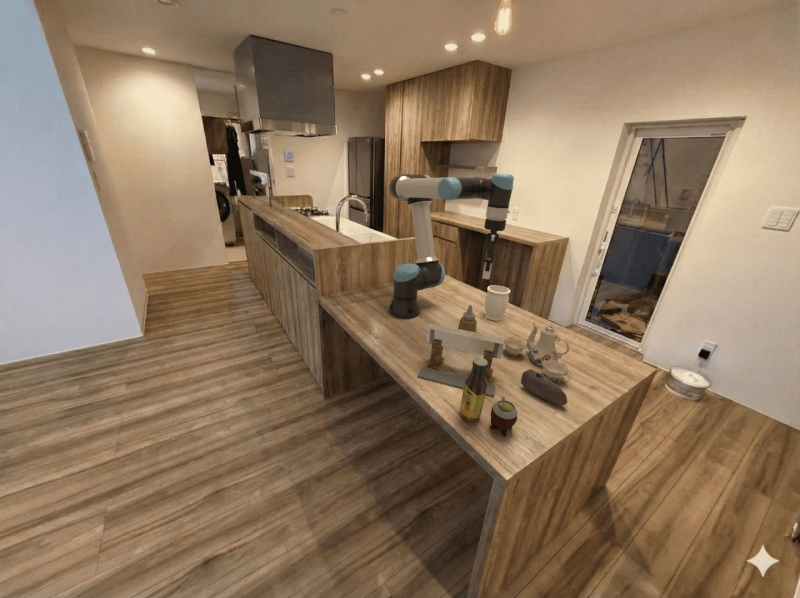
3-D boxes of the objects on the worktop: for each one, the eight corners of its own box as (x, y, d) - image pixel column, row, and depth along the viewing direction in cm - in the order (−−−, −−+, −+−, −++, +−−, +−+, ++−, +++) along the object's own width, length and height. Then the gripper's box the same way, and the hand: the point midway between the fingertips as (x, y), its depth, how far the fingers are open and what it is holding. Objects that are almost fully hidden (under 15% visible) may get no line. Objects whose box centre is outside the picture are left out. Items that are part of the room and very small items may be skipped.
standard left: (426, 366, 117) (429, 341, 113) (431, 356, 123) (434, 332, 119) (440, 369, 116) (443, 344, 112) (444, 359, 122) (447, 335, 118)
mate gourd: (508, 418, 95) (518, 377, 89) (518, 440, 88) (529, 397, 82) (483, 418, 95) (492, 377, 89) (491, 440, 88) (501, 397, 82)
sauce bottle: (457, 407, 99) (465, 353, 91) (476, 407, 99) (486, 353, 91) (462, 424, 93) (472, 367, 85) (483, 423, 93) (495, 366, 85)
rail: (425, 342, 115) (427, 328, 113) (428, 337, 119) (430, 323, 116) (500, 359, 108) (503, 344, 105) (501, 353, 111) (504, 338, 109)
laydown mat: (417, 377, 111) (417, 375, 111) (421, 368, 116) (421, 366, 116) (493, 397, 104) (494, 395, 104) (495, 386, 109) (495, 385, 108)
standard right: (476, 378, 112) (481, 352, 108) (479, 367, 118) (483, 342, 114) (491, 382, 111) (496, 356, 106) (492, 371, 117) (497, 345, 112)
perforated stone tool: (568, 406, 102) (574, 388, 99) (560, 413, 99) (566, 395, 96) (526, 381, 112) (530, 365, 109) (517, 387, 109) (521, 370, 106)
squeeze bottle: (475, 342, 134) (482, 303, 127) (473, 352, 127) (480, 312, 120) (456, 338, 137) (461, 300, 129) (453, 348, 130) (458, 308, 122)
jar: (502, 313, 161) (508, 285, 155) (506, 323, 152) (512, 294, 146) (481, 311, 162) (485, 284, 156) (484, 321, 153) (489, 292, 147)
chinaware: (493, 355, 129) (497, 320, 122) (518, 340, 138) (524, 306, 130) (560, 394, 109) (570, 355, 101) (584, 373, 118) (595, 336, 110)
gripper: (506, 225, 106) (495, 285, 115) (506, 214, 128) (497, 265, 137) (483, 223, 108) (474, 282, 117) (487, 212, 130) (479, 262, 139)
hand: (486, 273), depth 127 cm, fingers open, 13 cm apart
